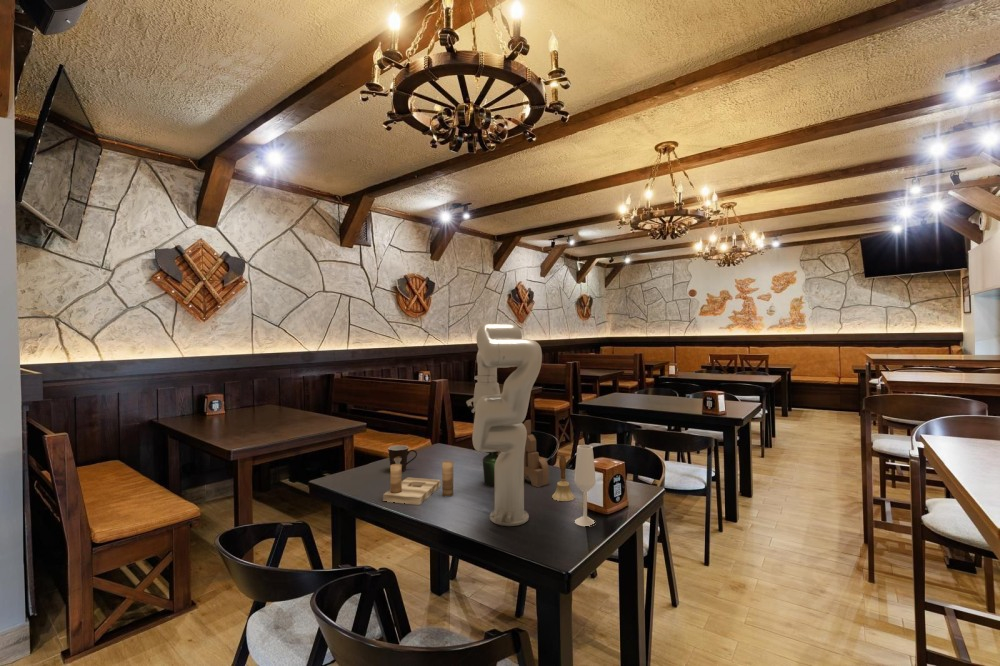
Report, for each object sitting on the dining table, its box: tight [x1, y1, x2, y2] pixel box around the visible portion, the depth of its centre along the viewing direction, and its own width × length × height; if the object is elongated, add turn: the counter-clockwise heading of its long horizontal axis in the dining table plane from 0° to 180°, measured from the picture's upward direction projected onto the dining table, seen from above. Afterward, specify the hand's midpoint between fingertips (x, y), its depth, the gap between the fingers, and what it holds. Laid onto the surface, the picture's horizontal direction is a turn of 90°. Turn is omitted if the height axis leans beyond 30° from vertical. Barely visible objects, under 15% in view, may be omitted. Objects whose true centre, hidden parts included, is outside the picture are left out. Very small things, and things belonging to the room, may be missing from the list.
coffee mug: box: [387, 444, 418, 473], centre depth 201 cm, size 12×9×10 cm
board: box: [382, 464, 442, 506], centre depth 172 cm, size 20×14×12 cm
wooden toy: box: [523, 419, 550, 488], centre depth 187 cm, size 16×7×25 cm, turn 39°
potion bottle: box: [482, 451, 499, 487], centre depth 184 cm, size 8×8×18 cm
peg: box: [441, 460, 454, 497], centre depth 171 cm, size 4×4×12 cm
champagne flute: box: [573, 444, 597, 527], centre depth 146 cm, size 7×7×24 cm
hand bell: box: [551, 453, 576, 502], centre depth 168 cm, size 8×8×16 cm
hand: (487, 423), depth 181 cm, fingers open, 9 cm apart
